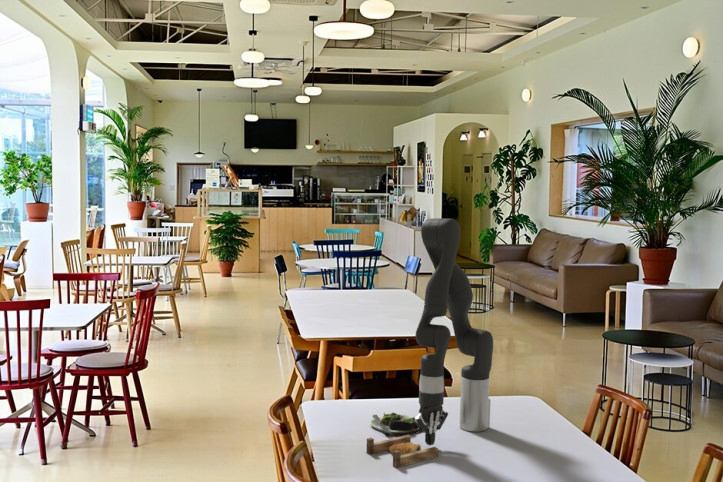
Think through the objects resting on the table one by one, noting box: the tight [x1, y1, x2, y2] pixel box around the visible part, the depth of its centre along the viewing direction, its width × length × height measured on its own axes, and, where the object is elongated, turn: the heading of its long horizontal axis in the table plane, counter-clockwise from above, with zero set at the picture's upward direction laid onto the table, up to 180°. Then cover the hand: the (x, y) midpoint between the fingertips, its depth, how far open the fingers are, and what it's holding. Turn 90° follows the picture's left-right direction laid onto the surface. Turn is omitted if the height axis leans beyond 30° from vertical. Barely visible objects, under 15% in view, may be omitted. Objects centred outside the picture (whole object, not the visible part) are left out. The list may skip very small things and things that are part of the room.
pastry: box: [388, 442, 422, 456], centre depth 226 cm, size 9×7×4 cm
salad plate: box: [369, 411, 422, 437], centre depth 251 cm, size 19×18×5 cm
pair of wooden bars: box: [366, 435, 439, 468], centre depth 225 cm, size 16×14×4 cm
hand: (429, 444), depth 231 cm, fingers closed
